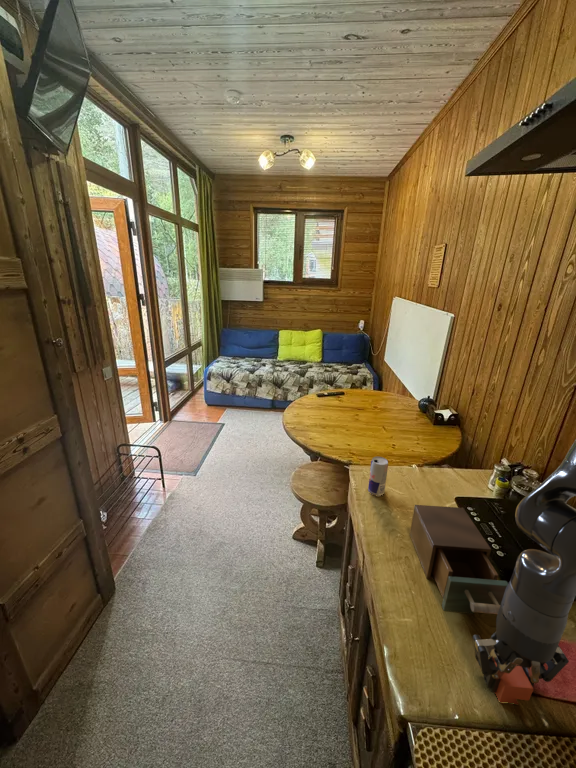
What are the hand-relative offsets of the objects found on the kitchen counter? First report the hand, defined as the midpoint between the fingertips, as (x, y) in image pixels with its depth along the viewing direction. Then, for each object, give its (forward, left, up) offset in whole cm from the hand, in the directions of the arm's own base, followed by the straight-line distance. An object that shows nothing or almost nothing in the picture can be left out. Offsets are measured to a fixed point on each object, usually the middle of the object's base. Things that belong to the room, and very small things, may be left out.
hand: (505, 686), depth 53 cm
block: (0, 0, 0) cm, 0 cm away
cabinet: (0, -27, 0) cm, 27 cm away
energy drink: (+12, -52, 0) cm, 53 cm away
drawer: (0, -16, +1) cm, 16 cm away
